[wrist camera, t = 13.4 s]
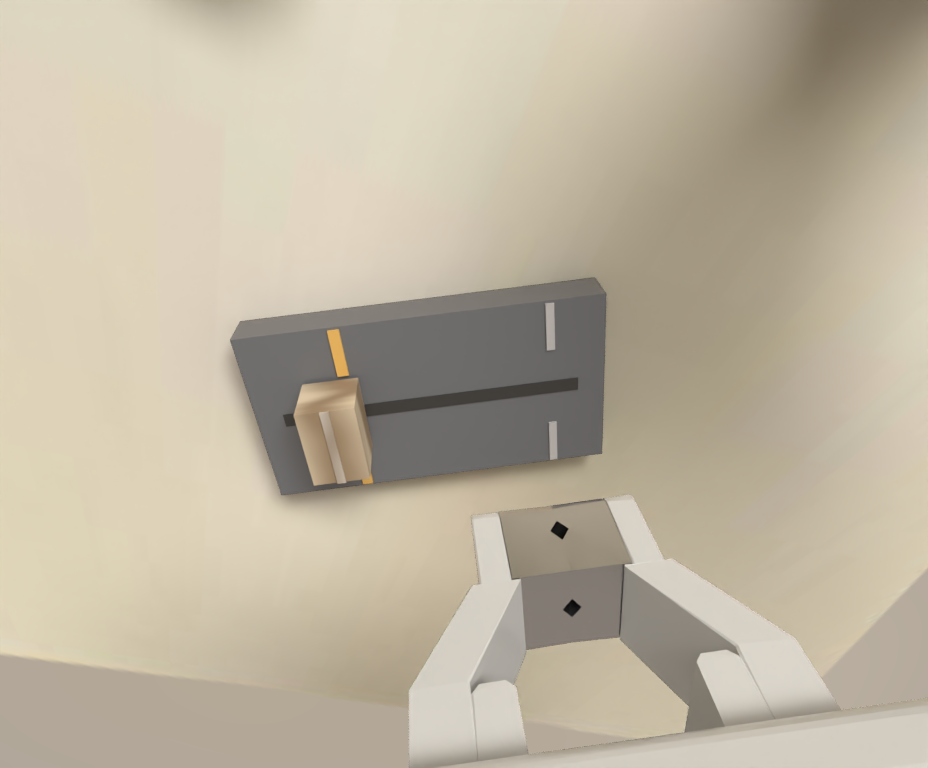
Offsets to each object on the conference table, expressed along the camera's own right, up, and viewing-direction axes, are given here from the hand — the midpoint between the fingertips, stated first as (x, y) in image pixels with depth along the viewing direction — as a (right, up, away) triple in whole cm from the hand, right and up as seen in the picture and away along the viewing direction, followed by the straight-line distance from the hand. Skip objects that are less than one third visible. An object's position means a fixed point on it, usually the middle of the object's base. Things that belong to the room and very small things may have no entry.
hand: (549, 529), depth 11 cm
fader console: (-4, +3, +37) cm, 37 cm away
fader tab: (-11, 0, +34) cm, 35 cm away
